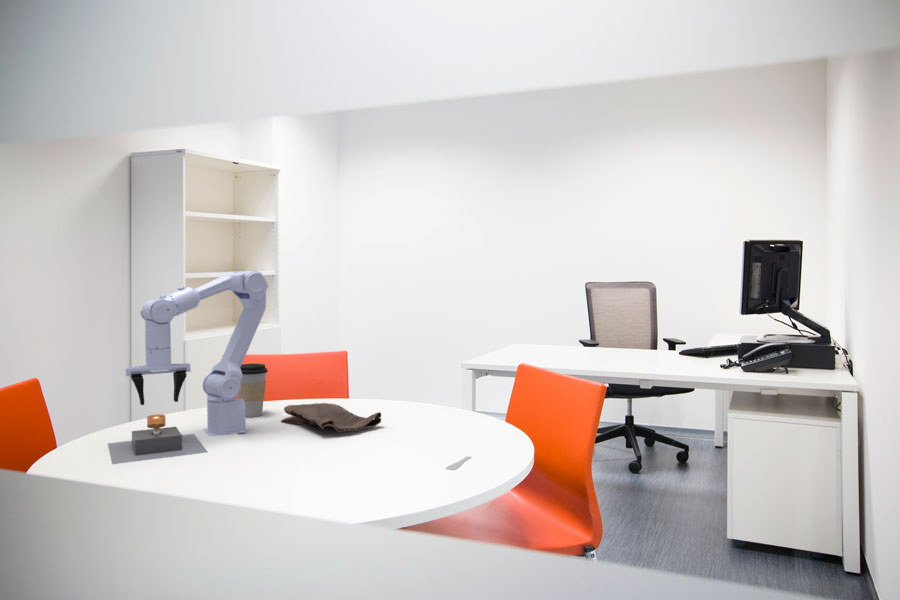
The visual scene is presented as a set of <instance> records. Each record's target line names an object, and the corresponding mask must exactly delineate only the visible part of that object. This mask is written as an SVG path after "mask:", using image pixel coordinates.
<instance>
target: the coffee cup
mask: <svg viewBox="0 0 900 600" xmlns="http://www.w3.org/2000/svg"><path fill="white" fill-rule="evenodd" d="M240 369H241V372H242V375H243V377H242V379H241V388H240V392H239V394H238V398H243V399H244V402H245V418H257V417H261V416H262V415H263V408H264V401H265V394H266V393H265V392H266V384H267V380H266V379H267V373H268V368H267V367H266V364H264V363H245V364H244V363H242V365H241V367H240Z"/></svg>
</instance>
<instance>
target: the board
mask: <svg viewBox="0 0 900 600" xmlns="http://www.w3.org/2000/svg"><path fill="white" fill-rule="evenodd" d="M181 435H182V450H177V451H168V452H160V453H152V454H143V455H135V453H134V450H133V447H132V440H128V441H127V440H126V441H119V442H108V443H107V447H108V452H109V455H110V461H111V464H112V465H118V464H126V463H134V462H140V461H141V462H142V461H148V460H157V459H158V460H159V459H165V458H173V457H181V456H187V455H188V456H189V455H190V456H191V455H197V454H205V453H208V450H207V449H206V448H205V446H204V445H203V443H202V442H201V441H200V439H199V438H198V437H197V436H196V435H195V433H190V434H181Z"/></svg>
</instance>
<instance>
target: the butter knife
mask: <svg viewBox="0 0 900 600" xmlns="http://www.w3.org/2000/svg"><path fill="white" fill-rule="evenodd" d="M472 458H473V457H472V456H465V457H464V458H462V459H461V460H459V461H457V462H454V463H452V464H450V465H448V466H446V467H445V469H446V470H447V471H455V470H458V469H459V468H460V467H461V466H462V465H463V464H464V463H465V462H467V461H468V460H470V459H472Z"/></svg>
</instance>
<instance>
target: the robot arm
mask: <svg viewBox="0 0 900 600" xmlns="http://www.w3.org/2000/svg"><path fill="white" fill-rule="evenodd" d="M268 287H269V284H268V281H267V279H266V277H265V276H264V274H263V273H262V272H261V271H258V270H252V271H245V270H243V271H242V270H235V271H234V272H230V273H226V274H223V275H222V276H220V277H218V278H215V279H213V280H211V281H208V282H206V283H205V284H202V285H199V286H198V287H195V288H192V287H190V286H186V287H185V286H182V285H181V286H179V287H177V288H176V289H177V290H175V291H172V292H171V293H168V294H165V293H163V294H161V295H160V296H159V297H160V298H159V299H150V300H148V301H147V300H146V302H145V303H144V304H143V306H142V308H141V310H140V316H141V318H142V319H143V320H144V325H145V326H144V327H145V329H144V334H145V335H144V336H145V337H144V341H145V365H138V366H129V367H128V366H127V367H125V377H130V379H131V381H132V382H133V384H134V387H135V389H136V391H137V394H138V397H139V403H140V405H141V406H144V405H145V395H144V382H145V381H144V376H143V375H159V374H170V373H171V374H172V375H173V401H174V403H177V402H179V398H180V393H181V390H182V387H183V384H184V382H185V380H186V379H187V375H188V374H187V373H189V372H191V371H192V370H191V363H190V362H189V363H188V362H187V363H172V343H171V342H172V341H171V340H172V339H171V332H172V331H171V330H172V329H171V321H173V319H174V318H175V317H177V316H179V315H182V314H184V313H186V312H188V311H191V310H193V309H196V308H197V307H198V306H199V304H200V302H201V301H202V300H205V299H207V298H210V297H212V296H215V295H218V294H220V293H223V292H226V291H232V293H233V294H234V295H235V296H236V297H237V298H238V300H239V301H240V303H241V305H242V308H243V309H242V311H241V314H240V315H239V318H238V320H237V323H236V325H235V327H234V329H233V331H232V333H231V337H230V339H229V340H228V343H227V346H226V348H225V349H224V352H223V355H222V357H221V359H220V360H219V361H218V362H217V363H216V364H215V365H214V366H213V367H212V369H211V371H210V372H209V373H208V374H207V375H206V376H205V377H204V378H203V381H202V390H203V392H204V393H205V394H206V397H207V399H206V400H207V401H206V404H207V407H206V410H207V414H206V416H207V417H206V419H207V428H204V429H203V431H204V432H205V433H206V434H207V435H208V436H209V437H212V436H221V435H228V434H245V433H247V429H246V417H245V402H244V399H243V398H239V397H238V396H239V392H240V388H241V379H242V377H243V375H242V372H241V369H240V367H241V365H242V364H244V360H245V357H246V356H247V353H248V351H249V348H250V346H251V344H252V341H253V339H254V337H255V334H256V332H257V329H258V327H259V325H260V323H261V320H262V317H263V316H264V313H265V311H266V307H267V296H266V295H267V290H268Z"/></svg>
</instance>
